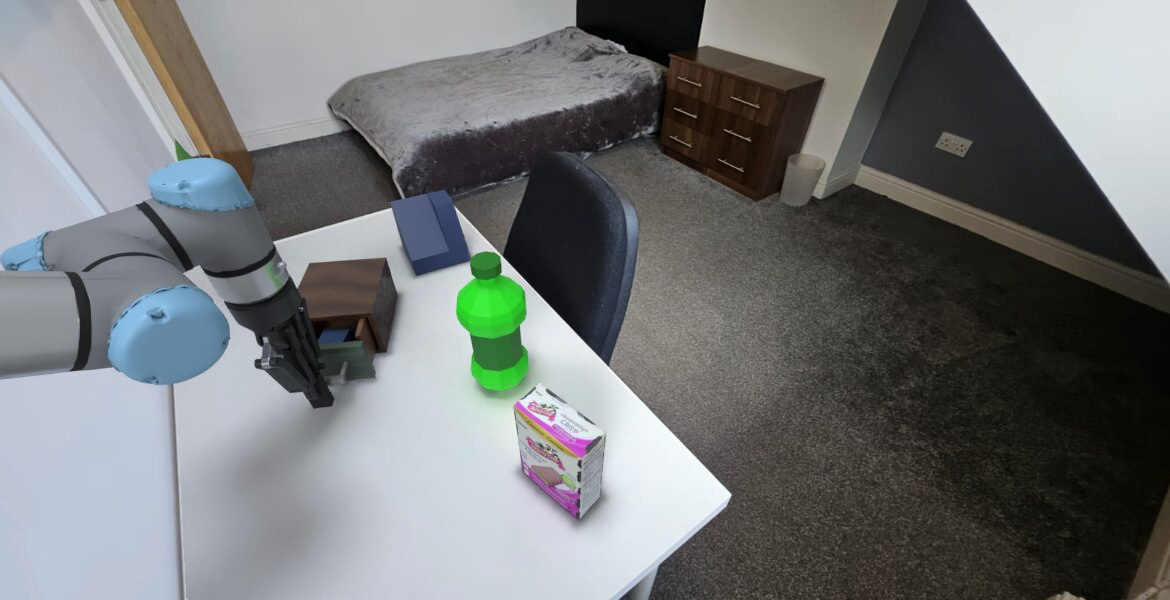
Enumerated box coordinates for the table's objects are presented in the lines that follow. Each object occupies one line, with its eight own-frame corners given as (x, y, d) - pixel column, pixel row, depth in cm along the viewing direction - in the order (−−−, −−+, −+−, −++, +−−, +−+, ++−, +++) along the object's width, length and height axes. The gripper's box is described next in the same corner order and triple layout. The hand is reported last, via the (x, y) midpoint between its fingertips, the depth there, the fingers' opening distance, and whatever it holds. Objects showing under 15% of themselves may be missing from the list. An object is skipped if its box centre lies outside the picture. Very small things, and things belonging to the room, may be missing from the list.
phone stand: (416, 276, 101) (403, 228, 93) (403, 247, 109) (389, 201, 101) (469, 260, 106) (461, 214, 98) (453, 234, 114) (444, 189, 106)
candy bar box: (519, 473, 67) (510, 404, 57) (544, 449, 70) (539, 379, 60) (578, 524, 62) (580, 459, 51) (602, 497, 65) (608, 429, 54)
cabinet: (386, 352, 84) (371, 312, 78) (304, 360, 83) (282, 320, 76) (398, 296, 96) (386, 257, 90) (327, 302, 94) (309, 262, 88)
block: (323, 363, 79) (314, 346, 77) (332, 345, 83) (324, 328, 80) (348, 363, 80) (340, 346, 77) (356, 345, 83) (349, 328, 80)
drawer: (370, 398, 76) (355, 366, 70) (286, 407, 74) (265, 375, 69) (388, 318, 90) (377, 287, 84) (318, 325, 88) (302, 293, 83)
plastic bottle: (524, 406, 76) (512, 288, 60) (462, 396, 77) (433, 277, 61) (539, 360, 84) (532, 244, 67) (482, 352, 85) (461, 236, 68)
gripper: (272, 320, 53) (340, 437, 68) (305, 253, 62) (358, 369, 78) (199, 326, 52) (285, 443, 67) (244, 257, 61) (310, 374, 77)
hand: (324, 403), depth 73 cm, fingers closed
